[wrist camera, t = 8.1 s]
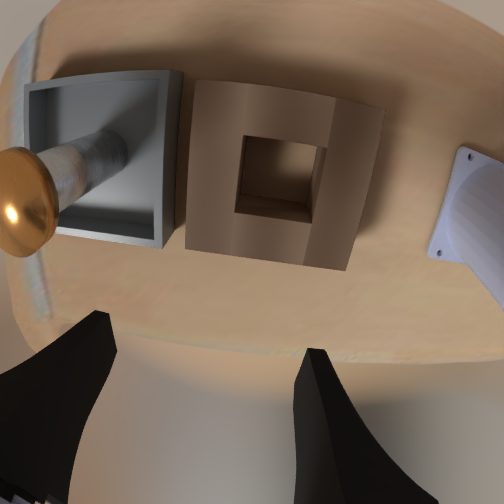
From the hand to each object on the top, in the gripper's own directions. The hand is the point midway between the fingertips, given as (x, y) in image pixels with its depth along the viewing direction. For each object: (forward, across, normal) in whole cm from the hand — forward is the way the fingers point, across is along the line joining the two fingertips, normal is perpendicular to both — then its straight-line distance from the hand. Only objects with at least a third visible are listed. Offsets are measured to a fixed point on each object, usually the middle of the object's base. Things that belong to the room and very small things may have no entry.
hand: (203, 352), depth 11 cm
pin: (+10, +8, -4) cm, 13 cm away
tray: (+10, +9, -4) cm, 14 cm away
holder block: (+10, -2, -4) cm, 11 cm away
